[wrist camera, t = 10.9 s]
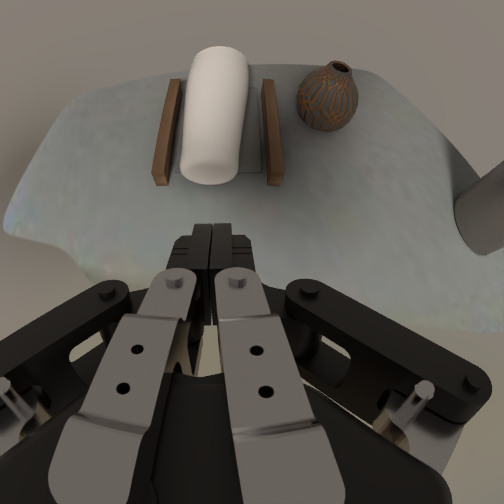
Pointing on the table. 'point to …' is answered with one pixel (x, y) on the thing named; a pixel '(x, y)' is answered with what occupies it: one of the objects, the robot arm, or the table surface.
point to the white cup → (214, 115)
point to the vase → (328, 97)
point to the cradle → (249, 138)
